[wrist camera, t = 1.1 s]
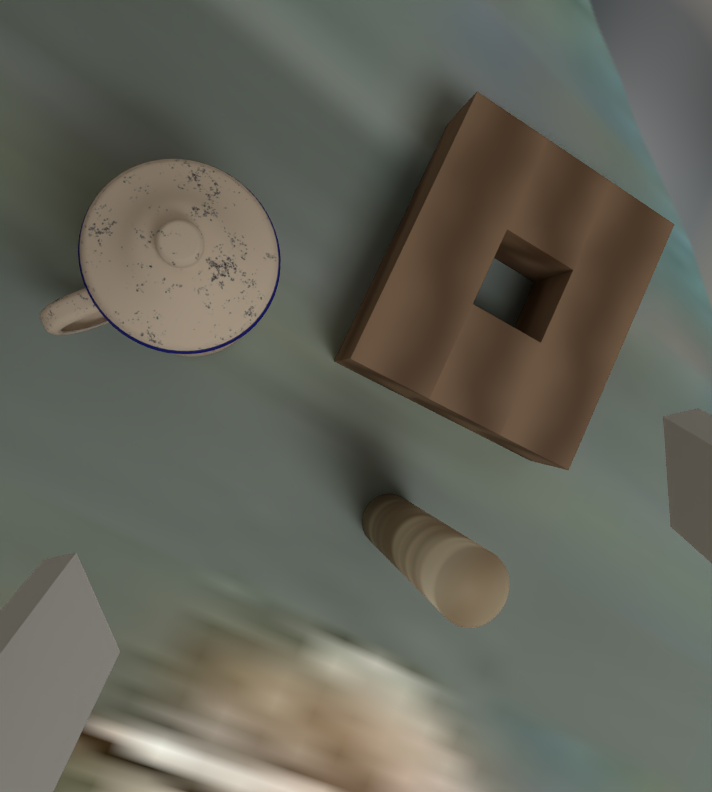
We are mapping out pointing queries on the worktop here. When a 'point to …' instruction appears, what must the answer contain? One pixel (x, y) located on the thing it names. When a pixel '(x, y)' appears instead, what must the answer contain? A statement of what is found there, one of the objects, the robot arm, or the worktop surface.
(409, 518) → the birch pin
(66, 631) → the robot arm
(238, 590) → the worktop surface
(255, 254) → the teacup with lid
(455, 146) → the walnut hole block
